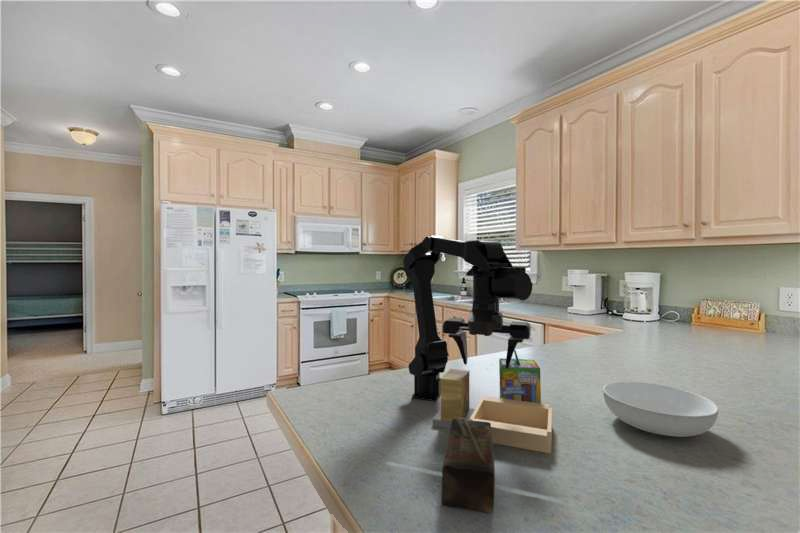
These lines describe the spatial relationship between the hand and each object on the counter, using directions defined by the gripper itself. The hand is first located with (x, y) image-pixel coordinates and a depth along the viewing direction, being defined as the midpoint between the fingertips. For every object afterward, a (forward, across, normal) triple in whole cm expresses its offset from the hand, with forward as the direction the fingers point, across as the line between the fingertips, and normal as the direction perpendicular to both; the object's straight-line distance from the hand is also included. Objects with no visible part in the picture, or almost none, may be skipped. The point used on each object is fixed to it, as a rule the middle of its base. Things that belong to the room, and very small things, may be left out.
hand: (486, 366), depth 85 cm
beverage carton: (+14, +1, -22) cm, 25 cm away
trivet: (+13, -6, -2) cm, 15 cm away
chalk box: (+13, +6, +12) cm, 19 cm away
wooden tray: (+13, +6, -3) cm, 15 cm away
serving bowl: (+13, +35, +13) cm, 40 cm away
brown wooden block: (+11, -6, -2) cm, 13 cm away
